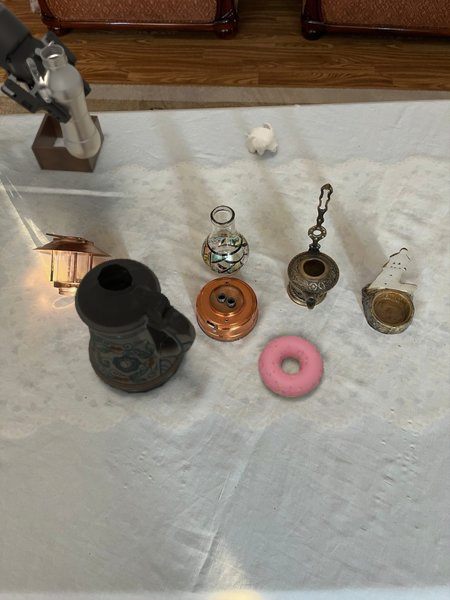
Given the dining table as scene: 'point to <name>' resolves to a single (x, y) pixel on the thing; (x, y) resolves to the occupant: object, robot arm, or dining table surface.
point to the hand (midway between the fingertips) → (78, 106)
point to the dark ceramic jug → (131, 326)
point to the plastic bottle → (70, 102)
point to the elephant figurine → (262, 139)
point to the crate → (60, 148)
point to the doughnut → (293, 382)
